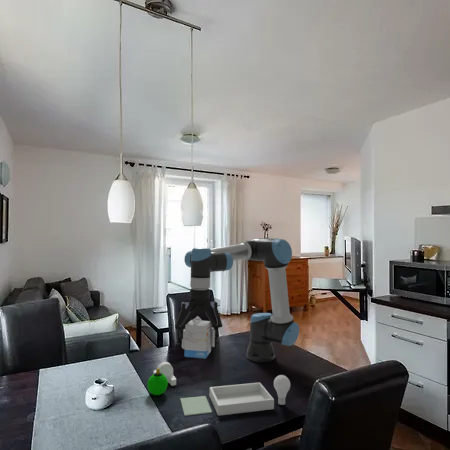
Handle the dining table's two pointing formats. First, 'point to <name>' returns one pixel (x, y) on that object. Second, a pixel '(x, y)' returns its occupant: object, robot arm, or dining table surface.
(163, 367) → the slotted bracket
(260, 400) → the tray
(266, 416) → the dining table surface
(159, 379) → the ornament
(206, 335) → the ink box
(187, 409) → the mat
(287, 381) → the lightbulb
